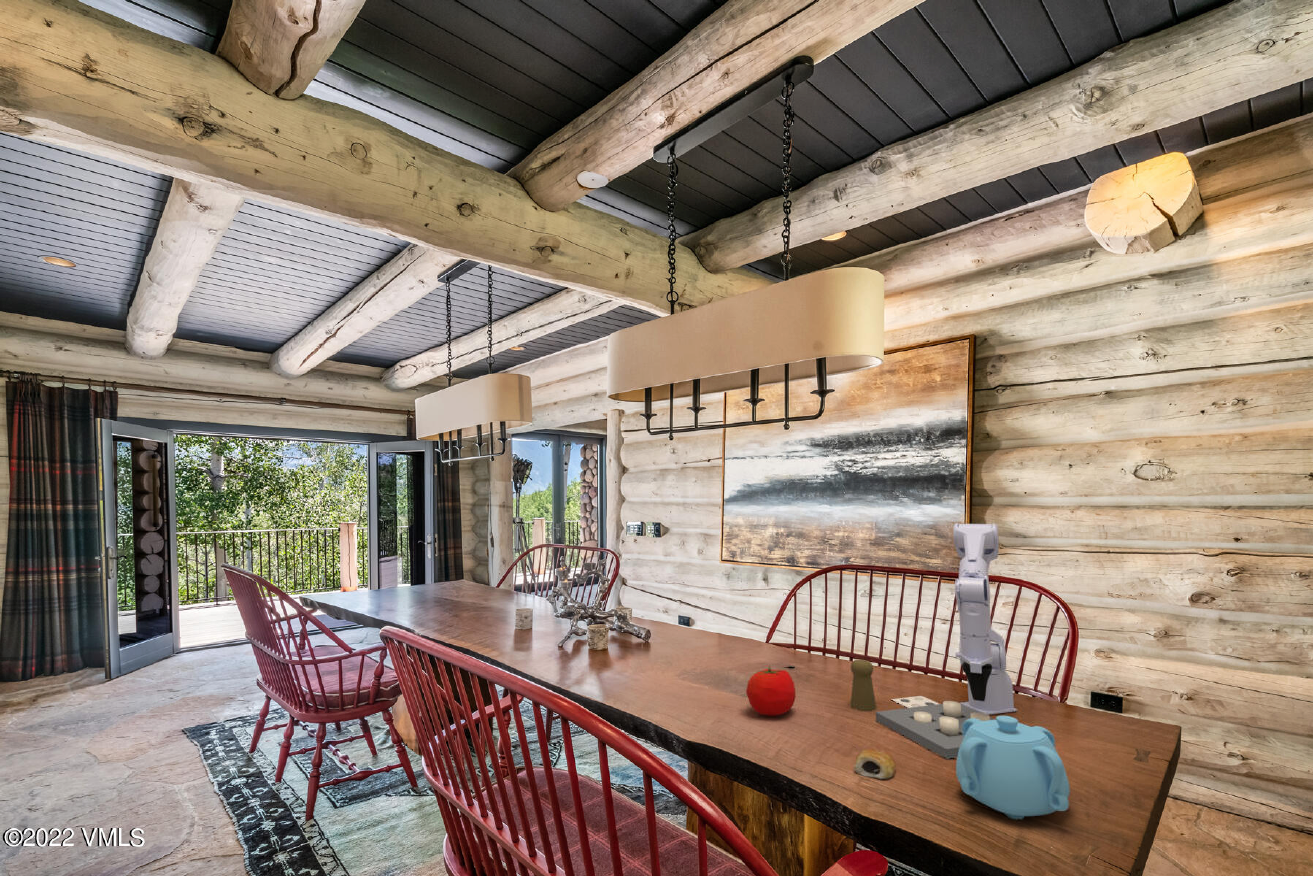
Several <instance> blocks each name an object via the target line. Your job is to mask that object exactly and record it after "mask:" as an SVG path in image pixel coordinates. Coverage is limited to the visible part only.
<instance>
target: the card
mask: <svg viewBox="0 0 1313 876" xmlns="http://www.w3.org/2000/svg"><path fill="white" fill-rule="evenodd" d="M890 700H893V701H895V702H896V704H897V703H899V704H898V705H900V704H901V705H900V706H901V707H904V706H905V707H904V708H906V707H907V708H912V707H920V706H928V705H936V704H940V703H938V702H937V701H934V700H933V699H930V698H928V697H925V696H923V695H916V696H909V697H908V696H907V697H901V698H892V699H890ZM893 701H892V702H893ZM895 702H894V703H895Z"/></svg>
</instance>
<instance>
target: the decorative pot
mask: <svg viewBox="0 0 1313 876" xmlns="http://www.w3.org/2000/svg"><path fill="white" fill-rule="evenodd" d="M995 719H996V720H987V721H981V720H979V719H976V718H971V719H967V720H966V721H964V723H963V725H962V733H963V737H964V739H963V741H962V743H961V746H960V748H959V752H958V756H957V758H956V765H955V772H956V773H955V775H956V779H957V780H958V783H959V784H960V788H961V790H962V791H963V792H964V793H965V794H967V795H969V796H970V797H971V798H974V799H975V801H978V802H980V803H981V804H983V805H985V806H987V807H990V808H991V809H994V810H996V811H997V812H1001V813H1003V814H1005V816H1007V817H1008V818H1010V819H1013V820H1017V819H1022V820H1024V819H1023V818H1025V817H1035V816H1037V817H1038V816H1046V815H1049V814H1052V813H1055V812H1056V811H1059V812H1064V811H1066V810H1068V809H1069V805H1070V803H1069V800H1068V799H1069V797H1070V793H1071V790H1070V789H1071V788H1070V783H1069V779H1068V778H1069V777H1068V776H1067V775H1068V774H1067V770H1066V769H1065V766H1064V763H1063V759H1062V758H1061V756H1060V755H1059V753H1058V751H1057V749H1056V739H1055V737H1054V734H1053V733H1052V732H1051V731H1050V730H1048V729H1047V728H1045V727H1042V726H1037V725H1035V726H1029V725H1027V724H1023V723H1020V722H1019V720H1018V719H1017V718H1015V717H1012V716H1010V715H998V716H996V717H995Z"/></svg>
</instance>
